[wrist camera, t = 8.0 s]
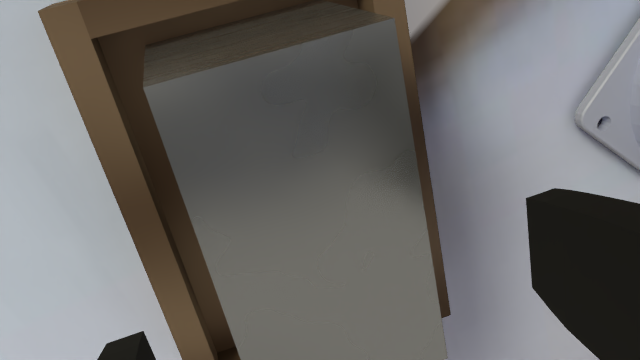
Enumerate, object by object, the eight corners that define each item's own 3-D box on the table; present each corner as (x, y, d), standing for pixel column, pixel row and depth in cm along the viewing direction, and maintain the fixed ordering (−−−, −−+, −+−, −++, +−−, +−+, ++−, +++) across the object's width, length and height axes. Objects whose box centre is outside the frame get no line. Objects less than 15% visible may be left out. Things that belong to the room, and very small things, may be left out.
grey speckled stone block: (318, -1, 14) (394, 18, 10) (372, 257, 18) (447, 357, 13) (145, 44, 14) (143, 87, 9) (235, 305, 17) (265, 429, 13)
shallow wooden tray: (423, 282, 20) (450, 314, 18) (197, 364, 18) (202, 408, 17) (363, -73, 15) (392, -77, 13) (52, 4, 14) (37, 11, 12)
